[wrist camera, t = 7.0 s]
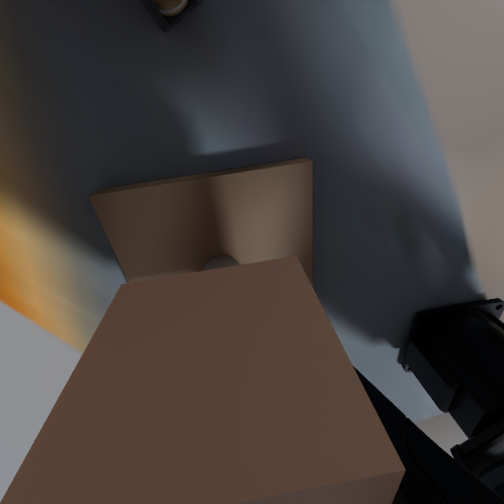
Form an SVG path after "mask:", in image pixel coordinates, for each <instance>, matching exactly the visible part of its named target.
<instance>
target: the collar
mask: <svg viewBox="0 0 504 504" xmlns="http://www.w3.org/2000/svg"><path fill="white" fill-rule="evenodd" d="M405 471H406V470H405V468H404V466H403V464H402V462H401V460H400V458H399V456H398V454H397V452H396V450H395V448H394V446H393V444H392V442H391V440H390V438H389V436H388V434H387V432H386V430H385V428H384V426H383V424H382V422H381V421H380V419H379V417H378V415H377V413H376V411H375V409H374V407H373V405H372V403H371V401H370V399H369V397H368V395H367V393H366V391H365V389H364V387H363V385H362V383H361V381H360V379H359V377H358V375H357V373H356V371H355V369H354V368H353V366H352V364H351V362H350V360H349V358H348V356H347V354H346V352H345V350H344V348H343V346H342V344H341V342H340V340H339V338H338V336H337V334H336V332H335V330H334V328H333V326H332V324H331V322H330V320H329V318H328V317H327V315H326V313H325V311H324V309H323V307H322V305H321V303H320V301H319V299H318V297H317V295H316V293H315V291H314V289H313V287H312V285H311V283H310V281H309V279H308V277H307V275H306V273H305V271H304V269H303V267H302V265H301V264H300V262H299V260H298V258H297V256H291V257H285V258H279V259H273V260H267V261H260V262H254V263H248V264H242V265H236V266H230V267H224V268H218V269H212V270H206V271H200V272H194V273H187V274H181V275H175V276H169V277H163V278H157V279H151V280H145V281H139V282H133V283H127V284H122V285H121V286H120V288H119V290H118V292H117V294H116V295H115V297H114V299H113V301H112V303H111V304H110V306H109V308H108V310H107V312H106V313H105V315H104V317H103V319H102V321H101V322H100V324H99V326H98V328H97V330H96V331H95V333H94V335H93V337H92V339H91V340H90V342H89V344H88V346H87V348H86V349H85V351H84V353H83V355H82V357H81V358H80V360H79V362H78V364H77V366H76V367H75V369H74V371H73V373H72V375H71V376H70V378H69V380H68V382H67V384H66V385H65V387H64V389H63V391H62V393H61V394H60V396H59V398H58V400H57V402H56V403H55V405H54V407H53V409H52V411H51V412H50V414H49V416H48V418H47V420H46V422H45V423H44V425H43V427H42V429H41V430H40V432H39V434H38V436H37V438H36V439H35V441H34V443H33V445H32V447H31V449H30V450H29V452H28V454H27V456H26V457H25V459H24V461H23V463H22V465H21V466H20V468H19V470H18V472H17V474H16V475H15V477H14V479H13V481H12V483H11V484H10V486H9V488H8V490H7V492H6V493H5V495H4V497H3V499H2V501H1V503H0V504H392V502H393V499H394V497H395V495H396V492H397V490H398V487H399V485H400V483H401V480H402V478H403V475H404V473H405Z"/></svg>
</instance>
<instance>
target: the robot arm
mask: <svg viewBox="0 0 504 504" xmlns="http://www.w3.org/2000/svg"><path fill="white" fill-rule="evenodd" d="M503 310H504V301H502V300H501V299H499V298H495V299H489V300H483V301H478V302H472V303H466V304H461V305H455V306H449V307H443V308H438V309H432V310H426V311H422V312H419V313H418V314H417V315H416V316H415V318H414V322H413V326H412V329H411V333H410V337H409V340H408V344H407V348H406V352H405V355H404V359H403V363H402V367H403V369H404V370H405V372H413V374H414V375H415V376H416V378H417V379H418V380H419V382H420V383H421V385H422V386H423V387H424V389H425V390H426V392H427V393H428V394H429V396H430V397H431V398H432V400H433V401H434V403H435V404H436V405H437V407H438V408H439V409H440V410H441V411H442V412H444V413H448V412H449V413H450V415H451V416H452V417H453V419H454V420H455V421H456V423H457V424H458V425H459V427H460V428H461V429H462V431H463V432H464V433H465V435H466V436H467V437H468V440H466V441H465V442H463V443H462V444H460V445H458V444H457V445H455V446H454V447H452V448H451V449H450V451H451V453H452V455H453V457H454V458H452V457H451V456H450V455H449V454H448V453H446V452H445V451H444V450H443V449H442V448H440V447H439V446H438V445H437V444H436V443H435V442H434V441H433V440H431V439H430V438H429V437H428V436H427V435H426V434H425V433H424V432H423V431H422V430H420V429H419V428H418V427H417V426H416V425H415V424H414V423H413V422H412V421H411V420H410V419H409V418H406V416H405V414H403V413H402V412H401V411H400V410H399V409H398V408H397V407H396V406H395V405H394V404H393V403H392V402H391V401H390V400H389V399H388V398H386V397H385V396H384V395H383V394H382V393H381V392H380V391H379V390H378V389H377V388H376V387H375V386H374V385H373V384H372V383H371V382H370V381H368V380H367V379H366V378H365V377H364V376H363V375H362V374H361V373H360V372H359V371H358V370H357V369H356V368H355V367H354V366H353V365H352V366H353V368H354V369H355V371H356V373H357V375H358V377H359V379H360V381H361V383H362V385H363V387H364V389H365V391H366V393H367V395H368V397H369V399H370V401H371V403H372V405H373V407H374V409H375V411H376V413H377V415H378V417H379V419H380V421H381V422H382V424H383V426H384V428H385V430H386V432H387V434H388V436H389V438H390V440H391V442H392V444H393V446H394V448H395V450H396V452H397V454H398V456H399V458H400V460H401V462H402V464H403V466H404V468H405V470H406V471H405V473H404V475H403V478H402V480H401V483H400V485H399V487H398V490H397V492H396V495H395V497H394V499H393V502H392V504H504V323H503V322H502V321H500V320H499V318H500V316H501V314H502V312H503Z"/></svg>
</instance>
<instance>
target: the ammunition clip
mask: <svg viewBox="0 0 504 504" xmlns="http://www.w3.org/2000/svg"><path fill="white" fill-rule="evenodd" d="M140 1H141V3H142V4H143V5H144V7H145V8H146V9H147V11H148V12H149V13H150V15H151V16H152V18H153V19H154V20H155V22H156V23H157V24H158V26H159V27H160V28H161V30H162V31H164V32H167V31H168V30H169V29H170V28H171V27H172V26H173V25H175V24H176V23H177V22H178V21H179V20H180V19H181V18H183V17H184V16H185V15H186V14H187V13H188V12H189V11H191V10H192V9H193V8H194V7H195V6H196V5H197V4H199V3H200V2H201V1H202V0H140Z"/></svg>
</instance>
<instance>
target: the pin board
mask: <svg viewBox="0 0 504 504" xmlns="http://www.w3.org/2000/svg"><path fill="white" fill-rule="evenodd" d="M88 197H89V199H90V201H91V203H92V206H93V208H94V210H95V212H96V214H97V216H98V219H99V221H100V223H101V225H102V227H103V229H104V231H105V234H106V236H107V238H108V240H109V242H110V244H111V247H112V249H113V251H114V253H115V255H116V257H117V259H118V262H119V264H120V266H121V268H122V270H123V272H124V274H125V277H126V279H127V281H128V283H133V282H139V281H145V280H151V279H157V278H163V277H169V276H175V275H181V274H187V273H194V272H200V271H206V270H212V269H218V268H224V267H230V266H236V265H242V264H248V263H254V262H260V261H267V260H273V259H279V258H285V257H291V256H297V258H298V260H299V262H300V264H301V265H302V267H303V269H304V271H305V273H306V275H307V277H308V279H309V281H310V283H311V285H312V287H313V161H311V160H310V159H308V158H306V157H305V158H299V159H292V160H286V161H279V162H273V163H266V164H260V165H253V166H247V167H240V168H234V169H227V170H221V171H214V172H208V173H201V174H195V175H189V176H182V177H176V178H169V179H163V180H156V181H150V182H143V183H137V184H130V185H124V186H117V187H111V188H104V189H98V190H96V191H95V192H93V193H92V194H90V195H89V196H88Z"/></svg>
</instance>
